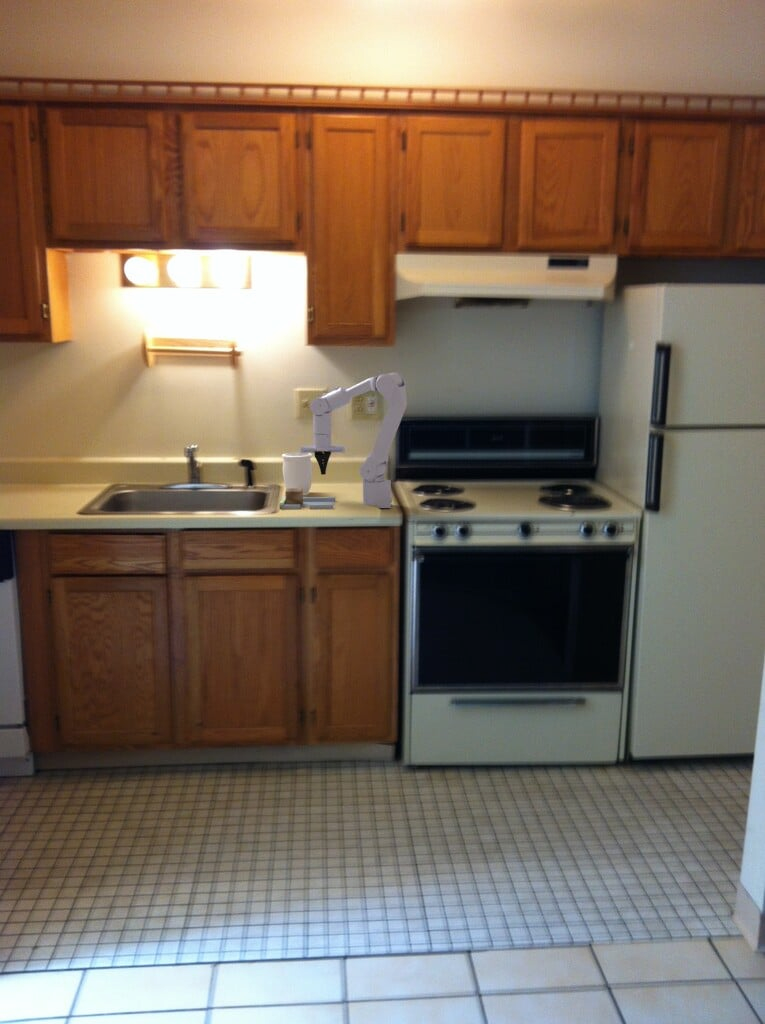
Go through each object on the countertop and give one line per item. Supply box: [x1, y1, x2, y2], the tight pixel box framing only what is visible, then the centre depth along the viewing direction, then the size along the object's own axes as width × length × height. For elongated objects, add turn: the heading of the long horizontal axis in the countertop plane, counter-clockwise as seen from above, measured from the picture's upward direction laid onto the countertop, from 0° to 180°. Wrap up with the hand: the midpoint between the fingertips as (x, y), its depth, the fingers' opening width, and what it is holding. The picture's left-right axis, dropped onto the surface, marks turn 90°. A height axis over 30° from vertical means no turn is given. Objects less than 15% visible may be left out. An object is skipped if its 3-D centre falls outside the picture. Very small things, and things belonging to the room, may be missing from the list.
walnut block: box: [284, 488, 304, 506], centre depth 277 cm, size 5×5×5 cm
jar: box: [281, 451, 313, 496], centre depth 295 cm, size 11×10×15 cm
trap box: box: [279, 494, 336, 510], centre depth 277 cm, size 17×12×3 cm
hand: (323, 474), depth 283 cm, fingers closed
